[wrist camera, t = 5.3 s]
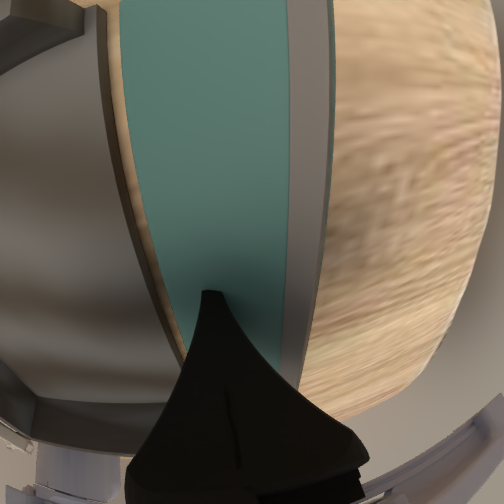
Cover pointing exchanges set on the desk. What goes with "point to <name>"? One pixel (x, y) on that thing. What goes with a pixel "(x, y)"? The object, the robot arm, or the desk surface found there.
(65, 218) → the box
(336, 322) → the desk surface
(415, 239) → the desk surface
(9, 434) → the game controller
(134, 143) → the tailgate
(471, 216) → the desk surface
